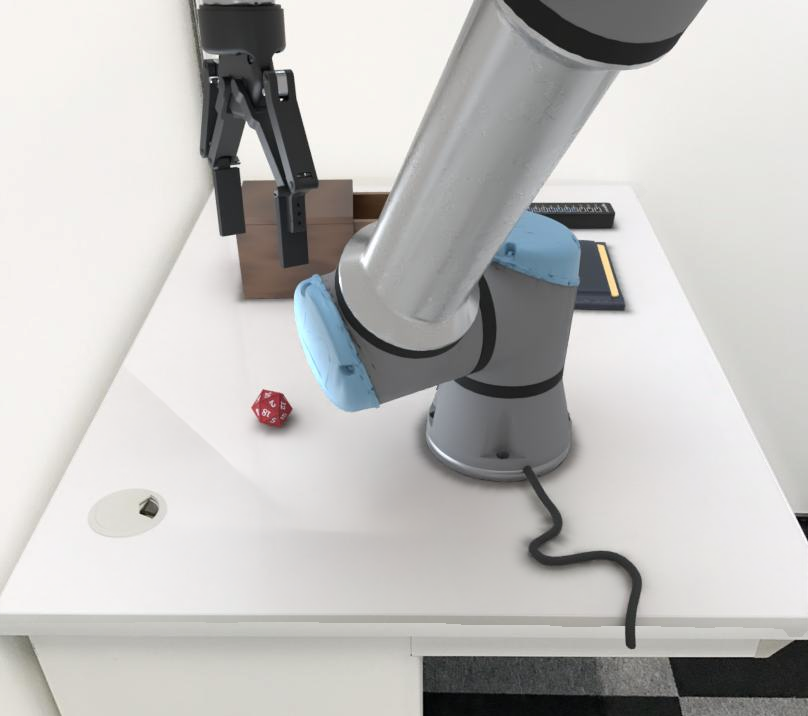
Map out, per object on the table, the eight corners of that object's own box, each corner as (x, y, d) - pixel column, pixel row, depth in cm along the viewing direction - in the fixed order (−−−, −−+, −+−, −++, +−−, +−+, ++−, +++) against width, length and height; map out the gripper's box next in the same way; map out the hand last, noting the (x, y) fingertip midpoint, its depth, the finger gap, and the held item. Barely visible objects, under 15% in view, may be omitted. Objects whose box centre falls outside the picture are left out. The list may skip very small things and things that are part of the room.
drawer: (444, 249, 122) (447, 186, 116) (451, 286, 114) (455, 220, 108) (316, 251, 121) (312, 188, 115) (313, 289, 113) (309, 222, 107)
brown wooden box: (355, 255, 123) (352, 179, 115) (355, 297, 113) (353, 216, 106) (252, 257, 122) (242, 180, 115) (244, 298, 113) (233, 218, 105)
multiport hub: (516, 216, 133) (517, 202, 132) (607, 216, 134) (610, 202, 132) (519, 228, 130) (521, 213, 128) (613, 228, 130) (616, 213, 129)
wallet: (506, 230, 125) (611, 234, 124) (505, 243, 126) (609, 247, 125) (509, 293, 110) (627, 298, 109) (507, 307, 111) (625, 312, 111)
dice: (255, 413, 93) (251, 381, 90) (296, 414, 93) (293, 383, 90) (250, 433, 90) (245, 401, 88) (292, 434, 90) (288, 402, 87)
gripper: (352, 5, 67) (359, 273, 79) (219, -4, 84) (241, 218, 96) (267, 7, 64) (288, 287, 76) (146, -3, 81) (178, 227, 93)
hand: (262, 249), depth 86 cm, fingers open, 13 cm apart
